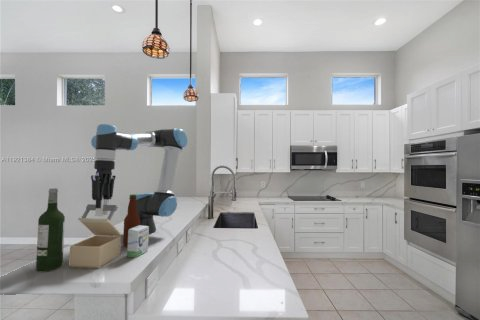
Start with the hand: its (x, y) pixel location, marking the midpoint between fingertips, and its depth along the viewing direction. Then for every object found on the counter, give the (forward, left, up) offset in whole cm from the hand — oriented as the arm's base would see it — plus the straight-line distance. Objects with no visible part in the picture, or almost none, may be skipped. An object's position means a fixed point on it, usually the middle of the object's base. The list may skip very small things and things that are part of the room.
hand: (101, 215), depth 99 cm
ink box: (-7, +13, -18) cm, 24 cm away
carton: (+2, 0, -18) cm, 18 cm away
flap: (0, 0, -5) cm, 5 cm away
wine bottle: (+10, -13, -18) cm, 25 cm away
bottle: (-18, +4, -18) cm, 26 cm away
